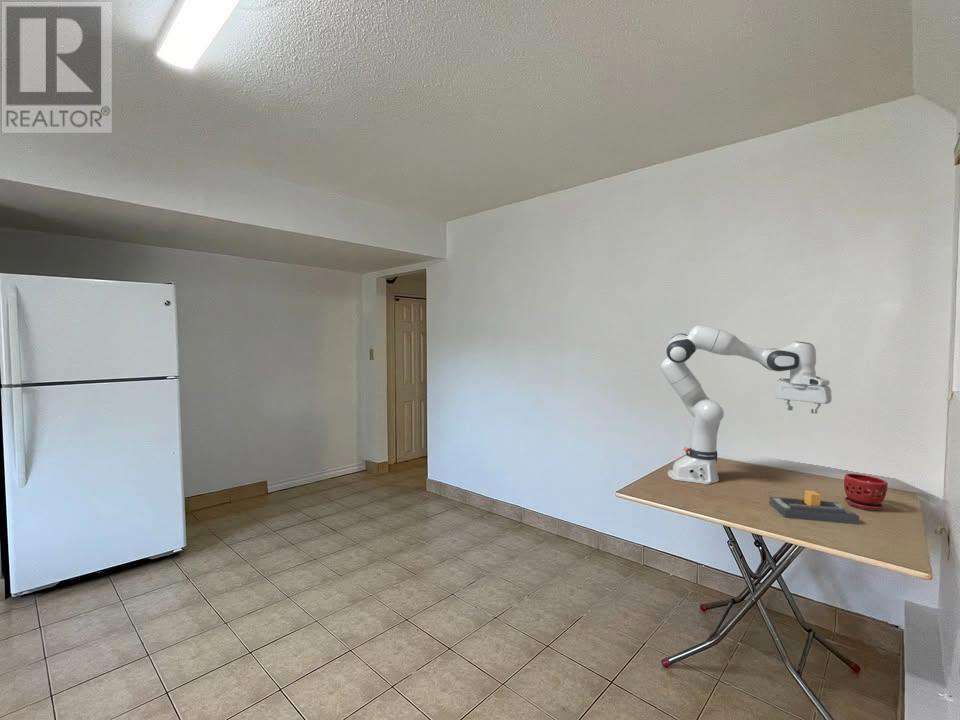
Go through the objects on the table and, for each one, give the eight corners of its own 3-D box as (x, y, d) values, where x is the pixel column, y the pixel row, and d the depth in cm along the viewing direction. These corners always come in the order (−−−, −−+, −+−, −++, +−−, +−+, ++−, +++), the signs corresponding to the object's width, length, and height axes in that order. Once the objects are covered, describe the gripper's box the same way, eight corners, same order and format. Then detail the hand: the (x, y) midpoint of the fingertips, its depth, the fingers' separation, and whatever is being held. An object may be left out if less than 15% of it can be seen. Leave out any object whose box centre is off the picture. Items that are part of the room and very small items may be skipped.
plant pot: (881, 515, 167) (882, 485, 167) (838, 504, 178) (840, 476, 177) (889, 508, 175) (891, 479, 174) (848, 498, 186) (849, 470, 185)
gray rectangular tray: (784, 517, 164) (785, 506, 164) (769, 503, 178) (769, 493, 178) (858, 524, 159) (859, 513, 159) (836, 509, 173) (837, 499, 172)
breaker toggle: (810, 507, 166) (811, 494, 166) (804, 502, 171) (804, 490, 171) (819, 508, 166) (820, 495, 165) (813, 503, 170) (813, 490, 170)
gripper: (772, 378, 193) (771, 408, 193) (825, 381, 174) (824, 415, 175) (781, 377, 196) (780, 407, 196) (834, 381, 177) (833, 414, 178)
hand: (801, 411), depth 185 cm, fingers open, 8 cm apart
